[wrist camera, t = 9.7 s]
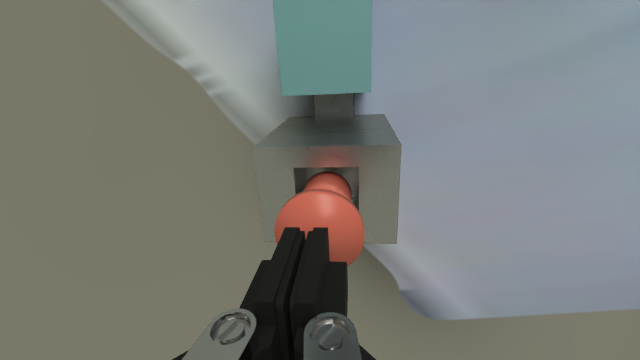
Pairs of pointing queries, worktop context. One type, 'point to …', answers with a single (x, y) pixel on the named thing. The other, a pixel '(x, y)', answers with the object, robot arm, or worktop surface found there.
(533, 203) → the worktop surface
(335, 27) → the carriage
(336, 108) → the rail
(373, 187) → the cabinet
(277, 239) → the knob
